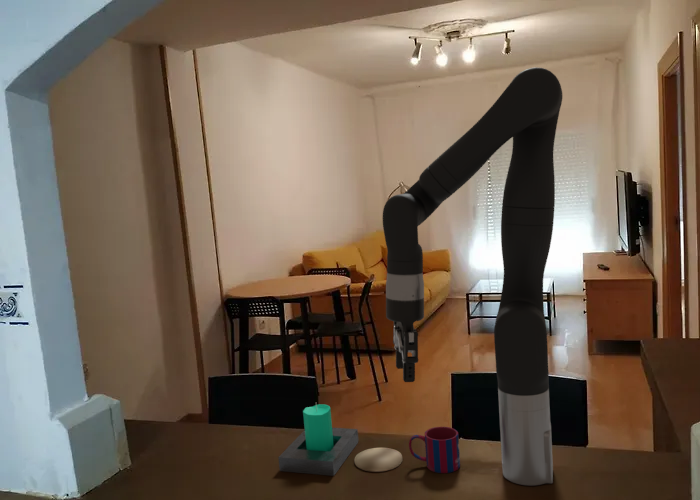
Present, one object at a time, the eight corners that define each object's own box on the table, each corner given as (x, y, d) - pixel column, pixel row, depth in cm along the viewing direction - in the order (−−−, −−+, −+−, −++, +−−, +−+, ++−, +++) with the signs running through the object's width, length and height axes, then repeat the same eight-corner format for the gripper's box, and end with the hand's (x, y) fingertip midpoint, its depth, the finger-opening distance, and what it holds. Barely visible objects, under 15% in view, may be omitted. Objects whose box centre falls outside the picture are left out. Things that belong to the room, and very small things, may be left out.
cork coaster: (407, 451, 130) (407, 449, 129) (395, 473, 120) (395, 471, 120) (362, 448, 133) (362, 446, 133) (348, 469, 123) (347, 467, 123)
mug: (457, 474, 118) (455, 441, 117) (407, 471, 121) (405, 438, 120) (462, 459, 124) (460, 427, 123) (414, 456, 127) (412, 425, 126)
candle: (336, 449, 133) (331, 396, 132) (332, 461, 127) (328, 407, 126) (309, 450, 134) (304, 398, 133) (304, 462, 128) (299, 408, 127)
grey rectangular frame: (358, 441, 136) (357, 429, 136) (333, 475, 121) (332, 461, 121) (309, 438, 140) (308, 426, 140) (279, 471, 125) (278, 457, 125)
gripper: (431, 301, 113) (431, 385, 115) (416, 288, 127) (416, 363, 129) (391, 303, 112) (392, 387, 114) (381, 289, 126) (381, 364, 128)
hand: (405, 374), depth 121 cm, fingers open, 8 cm apart
